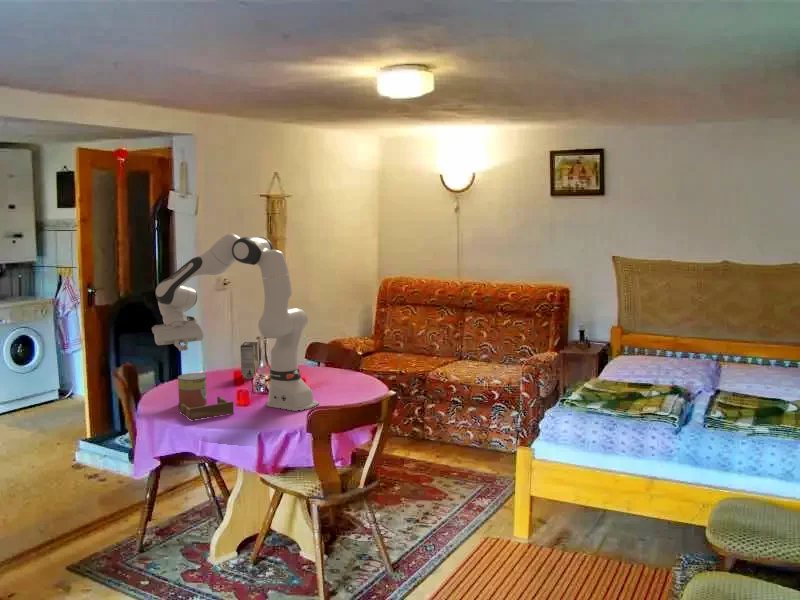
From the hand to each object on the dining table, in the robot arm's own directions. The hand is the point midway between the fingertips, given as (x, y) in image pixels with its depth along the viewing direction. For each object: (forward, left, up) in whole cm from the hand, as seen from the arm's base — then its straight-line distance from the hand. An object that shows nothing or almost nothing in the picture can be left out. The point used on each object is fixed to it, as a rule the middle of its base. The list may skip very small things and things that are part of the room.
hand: (183, 349), depth 318 cm
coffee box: (+11, -43, -22) cm, 50 cm away
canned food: (-9, +2, -22) cm, 24 cm away
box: (-24, +6, -21) cm, 32 cm away
